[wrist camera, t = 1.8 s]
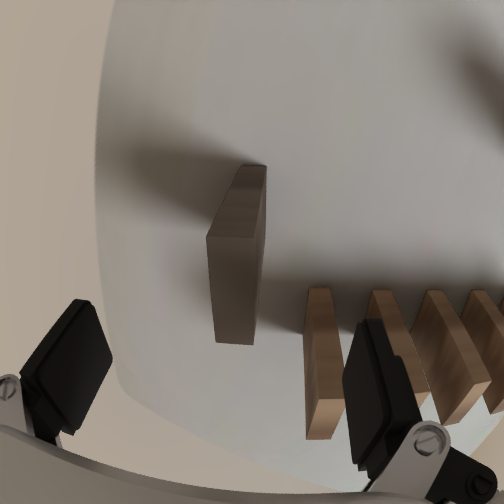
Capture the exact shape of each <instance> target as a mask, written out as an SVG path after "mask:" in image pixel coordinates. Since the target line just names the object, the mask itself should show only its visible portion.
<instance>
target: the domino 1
mask: <svg viewBox="0 0 504 504" xmlns="http://www.w3.org/2000/svg"><path fill="white" fill-rule="evenodd" d="M266 172H267V166H241V167H240V169H239V170H238V172H237V174H236V176H235V178H234V180H233V182H232V184H231V186H230V188H229V190H228V192H227V194H226V196H225V198H224V200H223V202H222V205H221V207H220V209H219V211H218V213H217V215H216V217H215V219H214V221H213V223H212V225H211V227H210V229H209V231H208V233H207V236H206V243H207V256H208V268H209V279H210V291H211V301H212V311H213V321H214V331H215V340H216V342H217V343H229V344H243V345H253V343H254V335H255V326H256V317H257V308H258V299H259V290H260V281H261V272H262V263H263V254H264V245H265V226H266Z"/></svg>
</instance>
